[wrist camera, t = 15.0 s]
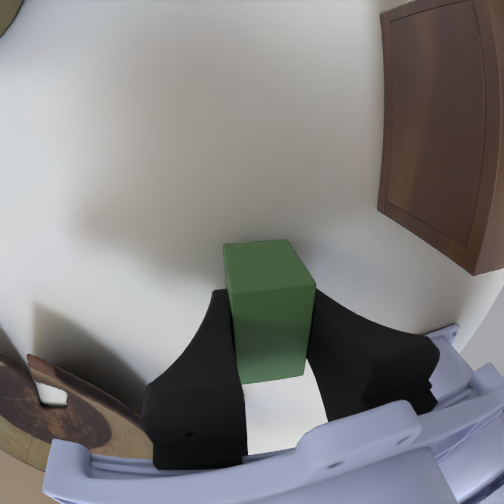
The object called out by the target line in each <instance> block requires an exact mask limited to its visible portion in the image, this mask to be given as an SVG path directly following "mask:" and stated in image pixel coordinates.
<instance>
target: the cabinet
mask: <svg viewBox="0 0 504 504" xmlns="http://www.w3.org/2000/svg"><path fill="white" fill-rule="evenodd" d="M380 17H381V27H382V39H383V54H384V80H385V114H384V141H383V157H382V170H381V181H380V191H379V200H378V208H377V210H378V211H379V212H381V213H382V214H384V215H386V216H387V217H389V218H390V219H392V220H394V221H395V222H397V223H398V224H400V225H401V226H403V227H404V228H406V229H407V230H409V231H411V232H412V233H414V234H415V235H416V236H418V237H419V238H421V239H422V240H424V241H425V242H427V243H428V244H430V245H431V246H432V247H434V248H435V249H437V250H438V251H440V252H441V253H442V254H444V255H445V256H446V257H448V258H449V259H451V260H452V261H453V262H455V263H456V264H457V265H459V266H461V267H462V268H463V269H464V270H465V271H467V272H468V273H469V274H471V275H472V276H476V275H479V274H483V273H487V272H491V271H494V270H498V269H501V268H504V0H415V1H412V2H410V3H407V4H404V5H402V6H399V7H397V8H394V9H392V10H389V11H387V12H384V13H382V14H380Z"/></svg>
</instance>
